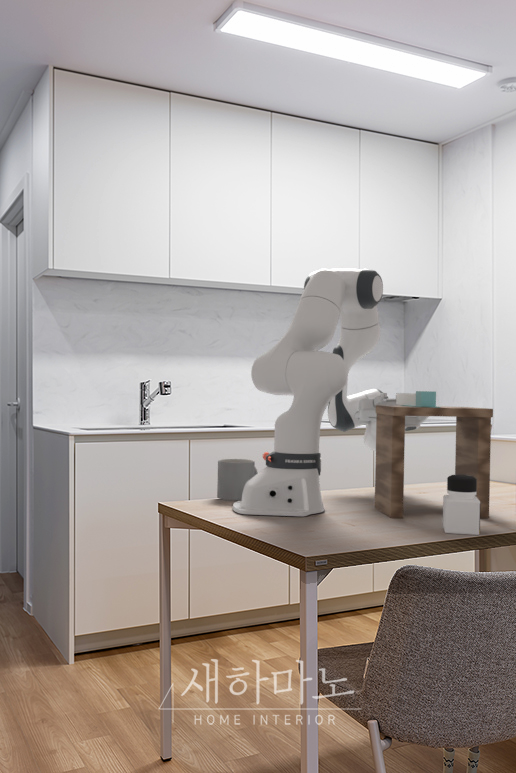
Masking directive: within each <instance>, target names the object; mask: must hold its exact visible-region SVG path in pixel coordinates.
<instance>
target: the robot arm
mask: <svg viewBox="0 0 516 773" xmlns="http://www.w3.org/2000/svg"><path fill="white" fill-rule="evenodd" d="M303 285H304V286H303V291H302V294H301V296H300V298H299V302H298V304H297V307H296V310H295V313H294V314H293V317H292V320H291V323H290V325H288V328H287V329H286V331H285V333H284V334H283V335H282V336H281V338H280V339H278V341H277V342H276V343H275V344H274V345H273V346H272V347H271V348H270V349H268V350H267V351H266V352H263V353H262V354H260V355H259V356H257V357H256V359H255V360H254V362H253V363H252V366H251V371H250V372H251V373H250V375H251V381H252V383H253V385H254V387H255V388H256V389H257V390H258V391H259V392H262V393H265V394H270V395H272V396H293V399H292V400H293V401H292V403H291V405H290V407H289V409H288V410H287V411H284V412H283V413H281V414H280V415H278V416H277V418H276V420H275V422H274V442H273V443H274V444H273V445H274V448H273V449H274V450H273V451H272V452H270V453H269V452H268V451H267V452H263V453H262V459H263V460H264V461H265V466H266V467H264V468H263V469H262V470H260V471H259V472H258V474H256V475H255V476H254V477H252V478H251V479H250V480H248V481H247V482H246V484H245V486H244V489H243V493H242V499H241V501H235V502H233V504H232V510H233V512H235V513H236V514H237V513H238V514H241V515H254V516H255V515H256V516H257V515H259V516H279V517H280V516H283V517H286V516H287V517H307V516H309V515H314V514H319V513H323V512H325V507H324V502H323V498H322V492H321V481H320V479H321V478H320V476H321V472H322V457H321V452H320V437H321V427H322V426H321V425H322V420H323V416H324V413H325V411H326V409H327V417H328V418H327V419H328V421H329V424H330V425H331V427H333V428H334V429H335V430H338V431H340V432H344V433H346V432H348V431H351V430H353V429H355V428H358V427H361V426H365V432H364V435H363V443H364V445H365V447H366V448H367V449H369V450H371V451H373V452H376V417H377V413H376V405H390V406H402V405H398V404H396V398H389V397H388V393H387V392H383V391H382V390H380V389H377V388H372V389H371V388H370V389H367V390H363V391H360V392H358V393H357V392H356V393H354V394H351V395H348V380H349V379H348V377H349V373H350V371H351V368H352V367H353V366H354V365H356V363H357V362H359V361H360V360H361V359H363V358H364V357H365V356H367V355H368V354H369V353H371V352H372V351H373V350H374V349H375V348H376V347H377V345H378V344H379V341H380V337H381V324H380V317H379V315H380V314H379V310H378V306H377V305H378V304H379V303H380V302H381V300H382V297H383V294H384V284H383V279H382V277H381V275H380V274H379V272H377V271H376V270H374V269H370V268H369V269H368V268H362V269H357V268H343V267H342V268H330V269H328V268H321V269H319V270H315V271H313V272H310V273H309V274H308V275H307V277H306V278H305V281H304V283H303ZM339 319H340V320H339ZM339 321H340V337H339V340H338V343H337V344H336V346H335V347H334V348H333V351H332V352H329V351H325V350H324V351H323V350H322V349H324V348H325V347H326V346H328V345H329V344H330V343H331V342H332V340H333V339H334V335H335V332H336V329H337V325H338V323H339ZM414 394H416V392H415V393H414ZM429 417H430V416H405V432H409V431H415V430H419V429H420V428H421V424H422V423H424V422H426V421H427V419H428V418H429Z"/></svg>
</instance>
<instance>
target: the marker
mask: <svg viewBox="0 0 516 773" xmlns="http://www.w3.org/2000/svg"><path fill="white" fill-rule="evenodd" d="M415 393H416V394H415ZM415 393H409V392H407V393H406V392H396V394H395V399H396V404H398V405H410V406H422V407H436V406H437V391H430V390H429V391H426V390H425V391H424V390H422V391H421V390H419V391H418V390H415Z"/></svg>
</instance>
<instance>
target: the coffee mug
mask: <svg viewBox="0 0 516 773" xmlns="http://www.w3.org/2000/svg"><path fill="white" fill-rule="evenodd" d="M258 473H259V472H258V469H257V467H256V466H255V460H254V459H248V458H247V459H246V458H221V459H218V460H217V488H216V489H217V490H216V491H217V492H216V493H217V495H216V496H217V499H219V500H223V501H235V502H238V501H241V499H242V493H243V489H244V486H245V484H246V482H247V481H248V480H250V479H251V478H252V477H254V476H255V475H256V474H258Z"/></svg>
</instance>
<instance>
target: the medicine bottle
mask: <svg viewBox="0 0 516 773" xmlns="http://www.w3.org/2000/svg"><path fill="white" fill-rule="evenodd" d="M446 480H447V482H446V493H447V494H444V495H443V496H442V497H443V501H442V502H443V505H442V507H443V508H442V528H443V530H444V533H445V534H450V535H451V534H453V535H455V534H456V535H470V536H472V535H473V536H479V535H481V518H480V506H481V503H480V501H479V499H478V498H477V497H476V496H475V495H476V488H477V479H476V478H475V477H473V476H470V475H455V474H451V475H449V476H448V477H447V479H446Z"/></svg>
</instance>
